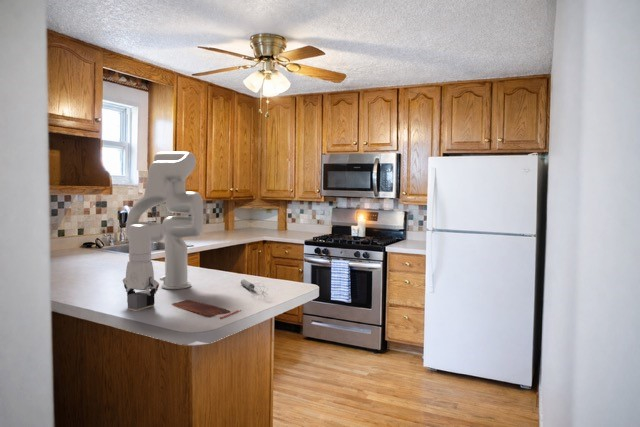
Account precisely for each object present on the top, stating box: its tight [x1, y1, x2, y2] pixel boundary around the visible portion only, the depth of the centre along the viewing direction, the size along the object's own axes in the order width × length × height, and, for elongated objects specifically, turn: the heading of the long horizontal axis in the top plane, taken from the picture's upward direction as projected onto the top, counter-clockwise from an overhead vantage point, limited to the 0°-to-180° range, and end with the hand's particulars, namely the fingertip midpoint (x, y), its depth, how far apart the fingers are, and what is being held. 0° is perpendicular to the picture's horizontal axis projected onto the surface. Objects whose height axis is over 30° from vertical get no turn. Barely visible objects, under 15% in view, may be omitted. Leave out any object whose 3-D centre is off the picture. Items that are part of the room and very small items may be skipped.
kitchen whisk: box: [240, 279, 269, 300], centre depth 190 cm, size 6×34×6 cm, turn 24°
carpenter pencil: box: [219, 308, 242, 320], centre depth 156 cm, size 1×12×1 cm, turn 154°
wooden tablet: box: [171, 299, 232, 318], centre depth 164 cm, size 27×10×2 cm, turn 50°
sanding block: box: [127, 290, 155, 312], centre depth 164 cm, size 4×8×6 cm, turn 155°
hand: (140, 303), depth 164 cm, fingers open, 9 cm apart
